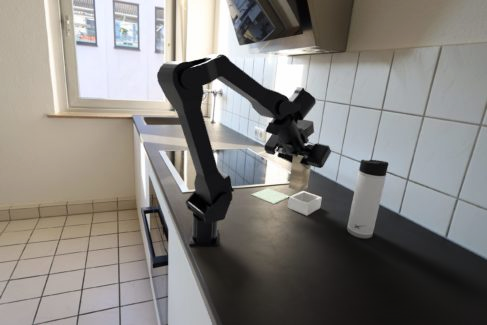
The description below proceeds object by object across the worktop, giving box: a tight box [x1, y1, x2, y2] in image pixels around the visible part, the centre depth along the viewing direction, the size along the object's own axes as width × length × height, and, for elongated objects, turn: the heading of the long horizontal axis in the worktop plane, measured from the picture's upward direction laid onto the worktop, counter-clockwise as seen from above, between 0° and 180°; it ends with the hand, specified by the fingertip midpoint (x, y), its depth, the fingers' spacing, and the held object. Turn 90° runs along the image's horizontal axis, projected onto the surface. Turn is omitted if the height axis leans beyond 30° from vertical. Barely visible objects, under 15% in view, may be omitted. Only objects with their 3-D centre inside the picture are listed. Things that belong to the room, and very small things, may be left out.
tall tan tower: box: [288, 156, 312, 192], centre depth 85 cm, size 5×4×12 cm
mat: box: [250, 187, 291, 205], centre depth 94 cm, size 9×9×1 cm
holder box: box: [287, 190, 323, 216], centre depth 87 cm, size 8×7×4 cm
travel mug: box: [346, 159, 389, 239], centre depth 72 cm, size 6×7×20 cm
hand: (303, 166), depth 86 cm, fingers closed on tall tan tower, 3 cm apart
